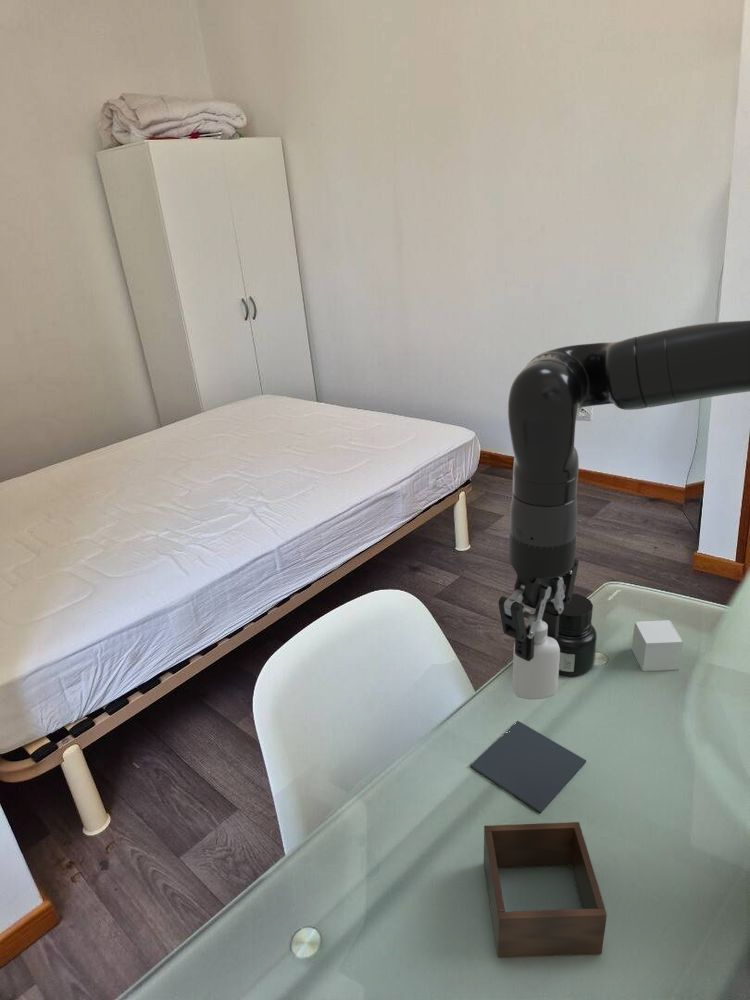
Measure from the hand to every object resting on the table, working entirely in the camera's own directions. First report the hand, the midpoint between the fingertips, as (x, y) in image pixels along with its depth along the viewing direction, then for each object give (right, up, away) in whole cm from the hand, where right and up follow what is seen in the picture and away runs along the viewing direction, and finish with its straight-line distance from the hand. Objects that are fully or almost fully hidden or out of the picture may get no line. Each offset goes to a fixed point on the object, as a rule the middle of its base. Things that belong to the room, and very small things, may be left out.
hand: (537, 645), depth 86 cm
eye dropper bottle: (+1, -7, +3) cm, 8 cm away
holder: (-1, -30, -4) cm, 31 cm away
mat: (+2, -21, +15) cm, 25 cm away
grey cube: (+28, -10, +33) cm, 45 cm away
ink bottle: (+14, -10, +35) cm, 39 cm away
